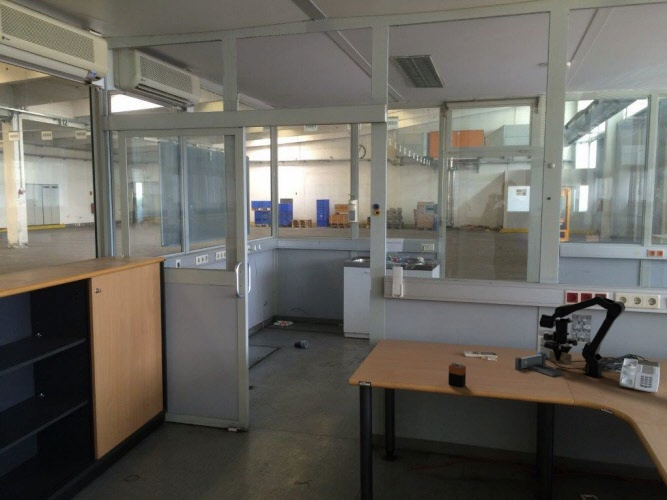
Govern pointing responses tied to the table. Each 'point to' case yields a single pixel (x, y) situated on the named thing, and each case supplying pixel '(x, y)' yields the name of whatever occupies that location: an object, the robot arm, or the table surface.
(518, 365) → the door frame
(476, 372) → the table surface
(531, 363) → the door
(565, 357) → the bar
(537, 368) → the keeper cradle
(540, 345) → the ink box
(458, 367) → the battery
